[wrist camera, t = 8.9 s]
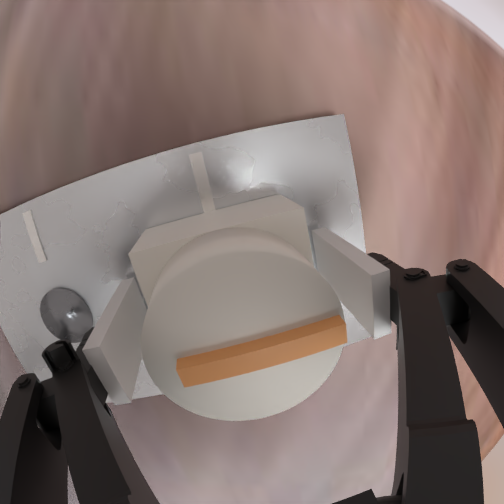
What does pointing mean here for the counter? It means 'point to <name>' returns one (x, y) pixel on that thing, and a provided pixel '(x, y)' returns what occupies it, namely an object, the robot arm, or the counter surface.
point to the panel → (157, 213)
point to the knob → (237, 310)
